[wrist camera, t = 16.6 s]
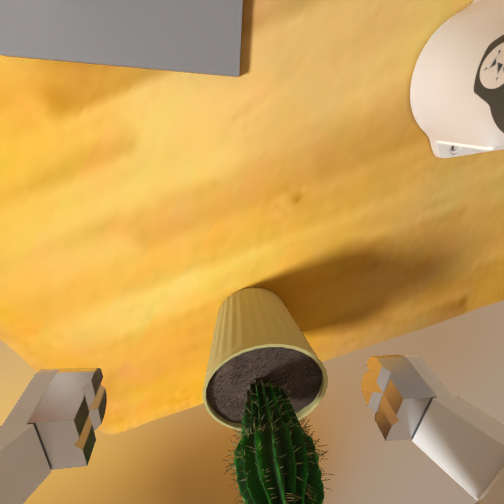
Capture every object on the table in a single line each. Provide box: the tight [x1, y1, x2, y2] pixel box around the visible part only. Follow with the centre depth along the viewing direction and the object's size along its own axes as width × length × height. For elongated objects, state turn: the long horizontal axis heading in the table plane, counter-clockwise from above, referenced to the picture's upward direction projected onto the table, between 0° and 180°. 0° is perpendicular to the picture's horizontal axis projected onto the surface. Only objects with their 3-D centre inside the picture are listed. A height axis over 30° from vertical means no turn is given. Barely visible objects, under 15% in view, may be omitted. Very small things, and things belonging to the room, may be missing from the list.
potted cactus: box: [203, 287, 328, 504], centre depth 37 cm, size 15×15×30 cm
